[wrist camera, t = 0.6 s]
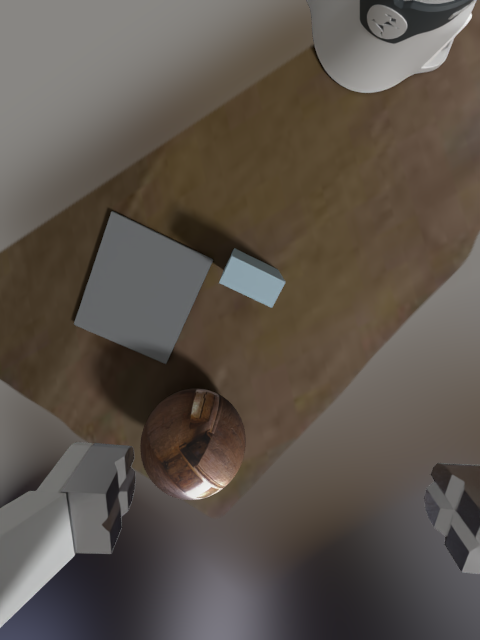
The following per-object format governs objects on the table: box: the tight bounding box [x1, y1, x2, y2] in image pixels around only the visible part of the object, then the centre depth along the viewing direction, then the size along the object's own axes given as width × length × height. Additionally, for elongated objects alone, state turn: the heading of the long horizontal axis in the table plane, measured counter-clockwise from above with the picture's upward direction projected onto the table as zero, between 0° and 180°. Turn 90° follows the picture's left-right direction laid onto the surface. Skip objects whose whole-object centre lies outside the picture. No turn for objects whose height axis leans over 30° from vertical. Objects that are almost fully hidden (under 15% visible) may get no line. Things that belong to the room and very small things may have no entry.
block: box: [219, 248, 285, 308], centre depth 42 cm, size 4×7×9 cm, turn 64°
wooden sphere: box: [141, 389, 246, 500], centre depth 47 cm, size 15×15×15 cm
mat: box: [74, 211, 213, 364], centre depth 47 cm, size 18×15×1 cm
